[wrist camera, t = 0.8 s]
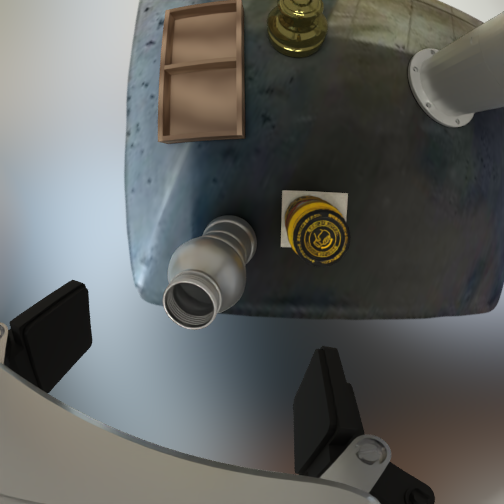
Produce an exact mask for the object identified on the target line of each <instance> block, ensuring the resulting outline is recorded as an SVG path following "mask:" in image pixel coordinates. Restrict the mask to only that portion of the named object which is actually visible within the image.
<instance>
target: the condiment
mask: <svg viewBox="0 0 504 504" xmlns="http://www.w3.org/2000/svg"><path fill="white" fill-rule="evenodd" d="M347 200H348V193H332V192H313V191H285V190H282V222H281V247H292V249H293V250H294V251H295V253H296V254H298V256H299V257H300V258H301V259H302V260H303V261H305V262H306V263H308V264H310V265H313V266H316V267H326V266H331V265H333V264H335V263H337V262H338V261H339V260H340V259H341V258H342V257H343V256H344V255H345V254H346V252H347V250H348V249H349V245H350V238H351V236H350V230H349V227H348V225H347V223H346V215H347Z"/></svg>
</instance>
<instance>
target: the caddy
mask: <svg viewBox="0 0 504 504" xmlns="http://www.w3.org/2000/svg"><path fill="white" fill-rule="evenodd" d="M223 139H245V75H244V9H243V5H242V0H228V1H218V2H210V3H203V4H196V5H190V6H185V7H179V8H174V9H170V10H166V12H165V20H164V28H163V38H162V49H161V62H160V78H159V101H158V142H162V143H166V144H172V143H182V142H193V141H206V140H223Z"/></svg>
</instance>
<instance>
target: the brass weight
mask: <svg viewBox="0 0 504 504" xmlns="http://www.w3.org/2000/svg"><path fill="white" fill-rule="evenodd" d="M322 12H323V2H322V0H277V6H276V7H275V8H274V9H272V11H271V12H270V13H269V15H268V18H267V26H268V27H267V31H268V37H269V41H270V43H271V45H272V46H273V47H274V48H275V49H276V50H277V51H279V52H280V53H282V54H284V55H287V56H290V57H306V56H309V55H312V54H314V53H315V52H317V51H318V50H319V48H320V47H321V45H322V43H323V41H324V39H325V36H326V33H327V30H328V24H327V20H326V18H325V16H324V15H323V14H322Z"/></svg>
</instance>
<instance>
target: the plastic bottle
mask: <svg viewBox="0 0 504 504" xmlns="http://www.w3.org/2000/svg"><path fill="white" fill-rule="evenodd" d="M256 248H257V239H256V235H255V232H254V230H253V229H252V227H251V226H250V224H249V223H248V222H246V221H245V220H244V219H242V218H240V217H237V216H230V215H226V216H220V217H217V218H216V219H214V220H212V221H211V222H210V223H209V224H208V226H207V227H206V229H205V231H204V233H203V236H201V237H198V238H194V239H191V240H189V241H187V242H186V243H184V244H182V245H181V246H180V247H178V248H177V249H176V250H175V252H174V253H173V255H172V257H171V260H170V262H169V267H168V282H169V285H168V287H167V288H166V290H165V292H164V295H163V306H164V309H165V311H166V313H167V314H168V316H169V317H170V319H171V320H173V322H175V323H176V324H178V325H179V326H181V327H184V328H187V329H192V330H194V329H195V330H197V329H202V328H205V327H207V326H208V325H209V324H210V323H211V322H212V321H213V320H214V319H215V316H216V314H217V313H219V312H222V311H225V310H227V309H228V308H230V307H231V306H232V305H234V304H235V303H236V302H237V301H238V300H239V299H240V298H241V296H242V294H243V292H244V289H245V285H246V268H245V265H246V264H247V263H248V262H249V261H250V260H251V258H252V257H253V256H254V254H255V251H256Z"/></svg>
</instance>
